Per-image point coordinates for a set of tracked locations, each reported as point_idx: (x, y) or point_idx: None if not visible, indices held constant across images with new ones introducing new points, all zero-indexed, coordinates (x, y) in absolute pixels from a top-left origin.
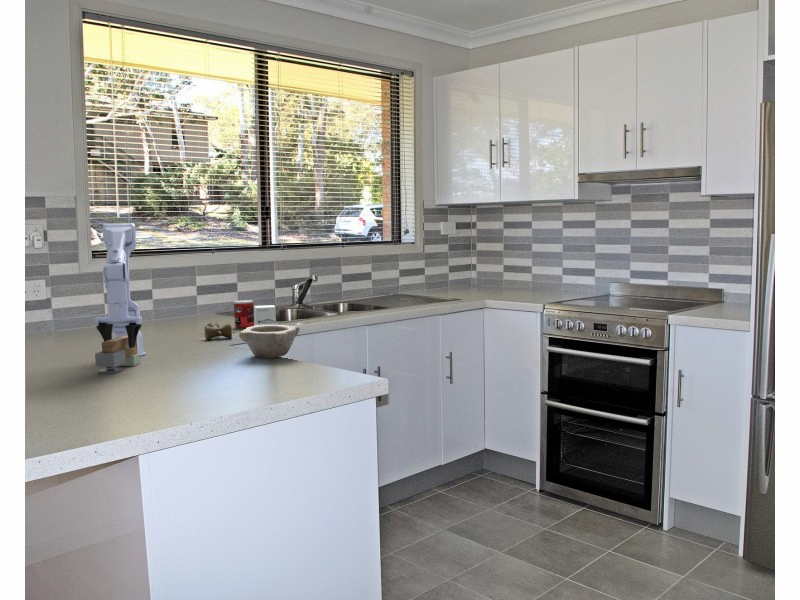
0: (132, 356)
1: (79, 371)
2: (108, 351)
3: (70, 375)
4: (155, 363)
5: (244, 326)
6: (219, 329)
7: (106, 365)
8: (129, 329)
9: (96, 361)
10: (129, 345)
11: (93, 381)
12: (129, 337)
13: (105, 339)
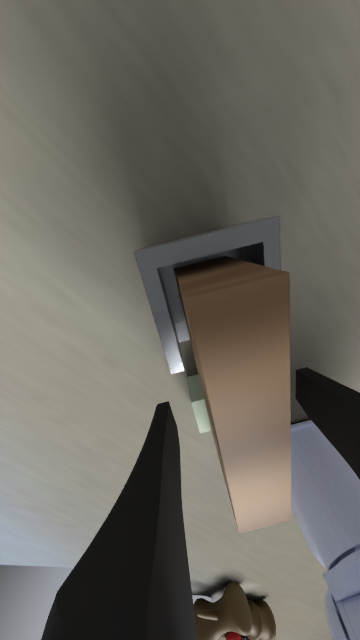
0: (196, 399)
1: (330, 238)
2: (200, 273)
3: (323, 147)
4: (147, 420)
5: (234, 637)
6: (217, 627)
7: (184, 237)
8: (109, 561)
9: (246, 222)
10: (162, 411)
11: (89, 27)
12: (149, 462)
13: (346, 398)
